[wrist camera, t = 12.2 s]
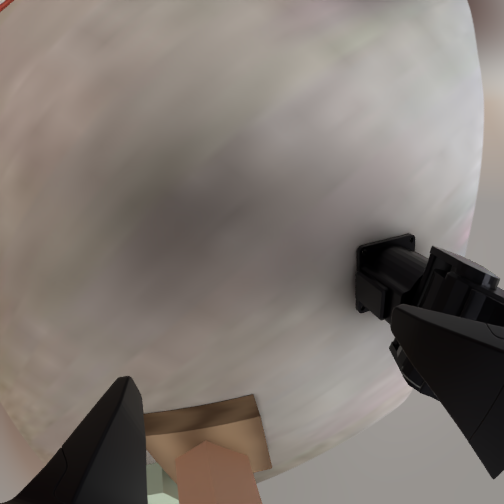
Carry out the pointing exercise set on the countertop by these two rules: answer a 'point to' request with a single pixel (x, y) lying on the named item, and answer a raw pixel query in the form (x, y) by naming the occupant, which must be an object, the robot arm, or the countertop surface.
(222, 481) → the terracotta block
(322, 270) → the countertop surface
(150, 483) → the sage cube
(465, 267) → the robot arm
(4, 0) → the cake
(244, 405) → the bronze slab
